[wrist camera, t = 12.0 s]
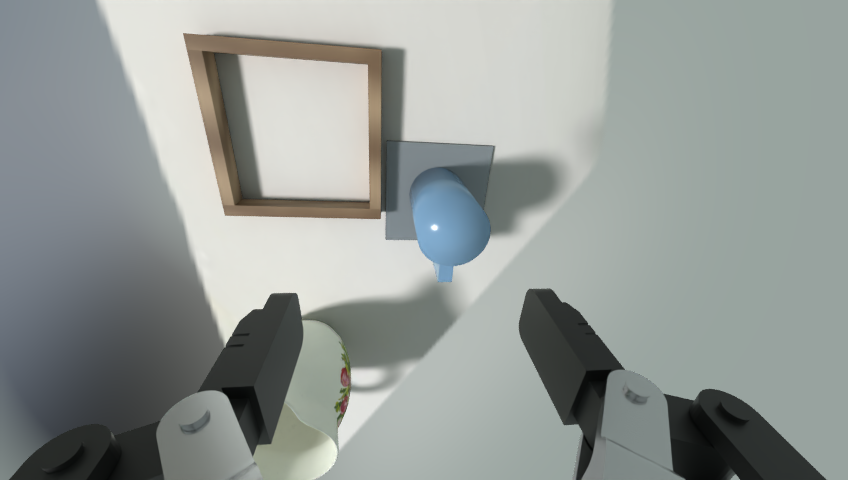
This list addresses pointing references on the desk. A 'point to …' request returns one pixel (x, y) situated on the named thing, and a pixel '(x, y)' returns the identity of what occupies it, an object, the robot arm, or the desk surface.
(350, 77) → the desk surface
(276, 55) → the holder
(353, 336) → the desk surface
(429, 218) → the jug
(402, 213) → the mat
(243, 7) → the desk surface
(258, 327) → the robot arm
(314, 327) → the pitcher
